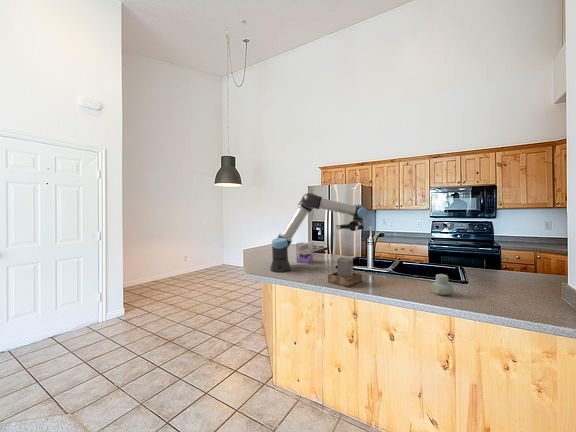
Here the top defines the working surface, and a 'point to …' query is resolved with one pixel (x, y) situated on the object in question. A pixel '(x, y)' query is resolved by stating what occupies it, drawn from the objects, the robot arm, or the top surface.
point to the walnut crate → (345, 279)
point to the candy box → (304, 251)
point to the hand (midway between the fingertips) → (346, 228)
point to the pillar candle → (345, 267)
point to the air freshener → (442, 285)
